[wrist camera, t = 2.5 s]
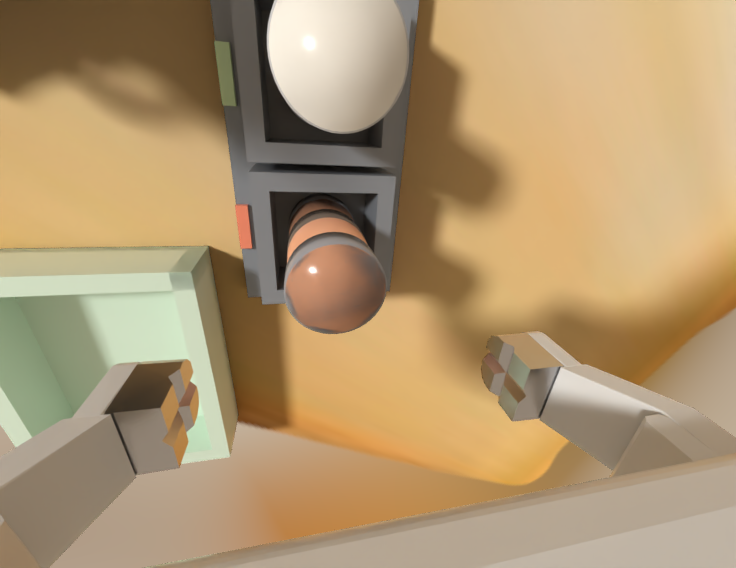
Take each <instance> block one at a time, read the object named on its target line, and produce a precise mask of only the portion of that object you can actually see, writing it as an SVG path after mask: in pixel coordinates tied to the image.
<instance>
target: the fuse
mask: <svg viewBox="0 0 736 568" xmlns="http://www.w3.org/2000/svg"><path fill="white" fill-rule="evenodd" d="M267 52H268V59H269V64H270V68H271V72H272V74H273V77H274V80H275V83H276V85H277V87H278V89H279V91H280V93H281V94H282V96H283V98H284V99H285V101H286V103H287V104H288V106H289V107H290V109H291V110H292V111H293V113H294V114H295V115H296V116H297V117H298V118H300V119H301V120H302V121H304V122H306V123H308V124H310V125H312V126H314V127H317V128H319V129H321V130H324V131H327V132H331V133H338V134H348V133H355V132H359V131H362V130H365V129H367V128H369V127H371V126H373V125H374V124H376V123H377V122H379V121H380V120H381V119H382V118H383V117H384V116H385V115H386V114H387V113H388V112H389V111H390V110H391V108H392V107H393V106H394V104H395V103H396V101H397V99H398V97H399V95H400V93H401V91H402V88H403V86H404V83H405V79H406V76H407V71H408V64H409V40H408V34H407V29H406V25H405V21H404V18H403V15H402V13H401V10H400V7H399V6H398V4H397V2H396V0H275V1H274V3H273V6H272V9H271V12H270V16H269V21H268V28H267Z"/></svg>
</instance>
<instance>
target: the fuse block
mask: <svg viewBox="0 0 736 568" xmlns="http://www.w3.org/2000/svg"><path fill="white" fill-rule="evenodd" d="M274 1H275V0H210V4H211V11H212V19H213V27H214V35H215V41H214V46H215V53H216V61H217V69H218V76H219V84H220V92H221V100H222V105H224V113H225V121H226V129H227V137H228V144H229V152H230V160H231V168H232V176H233V183H234V191H235V199H236V205H235V208H236V215H237V223H238V231H239V239H240V246H241V249H242V254H243V262H244V269H245V277H246V285H247V293H248V297H262V304H283V303H286V302H285V298H284V280H285V270H286V266H287V248H288V238H289V236H288V224H289V217H290V214H291V211H292V209H293V208H294V206H295V205H296V204H297V203H298V202H299V201H300V200H302V199H303V198H305V197H307V196H309V195H312V194H320V193H322V194H329V195H332V196H334V197H336V198H338V199H340V200H341V201H342V202H343V203H344V204H345V205H346V206H347V207H348V209H349V211H350V212H351V214H352V216H353V218H354V220H355V223H356V224H357V226H358V227H359V229H360V231H361V233H362V234H363V236H364V238H365V240H366V242H367V244H368V246H369V247H370V248H371V249H372V251H373V252H374V254H375V255H376V257H377V259H378V261H379V262H380V264H381V266H382V268H383V270H384V272H385V276H386V281H387V291H390V282H391V272H392V262H393V252H394V243H395V233H396V223H397V213H398V203H399V193H400V184H401V174H402V164H403V154H404V144H405V134H406V124H407V115H408V105H409V95H410V85H411V75H412V65H413V56H414V46H415V36H416V26H417V16H418V6H419V0H396V2H397V4H398V6H399V7H400V10H401V13H402V15H403V18H404V21H405V25H406V29H407V34H408V40H409V64H408V71H407V76H406V79H405V83H404V86H403V88H402V91H401V93H400V95H399V97H398V99H397V101H396V103H395V104H394V106H393V107H392V108H391V110H390V111H389V112H388V113H387V114H386V115H385V116H384V117H383V118H382V119H381V120H380V121H379V122H377V123H376V124H374V125H373V126H371V127H369V128H367V129H365V130H362V131H359V132H355V133H348V134H338V133H331V132H327V131H324V130H321V129H319V128H317V127H314V126H312V125H310V124H308V123H306V122H304V121H302V120H301V119H300V118H298V117H297V116H296V115H295V114H294V113H293V111H292V110H291V109H290V107H289V106H288V104H287V103H286V101H285V99H284V98H283V96H282V94H281V93H280V91H279V89H278V87H277V85H276V83H275V80H274V77H273V74H272V72H271V68H270V64H269V59H268V52H267V28H268V21H269V16H270V12H271V9H272V6H273V3H274Z"/></svg>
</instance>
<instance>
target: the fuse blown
mask: <svg viewBox="0 0 736 568" xmlns="http://www.w3.org/2000/svg"><path fill="white" fill-rule="evenodd" d="M288 236H289V238H288V248H287V266H286V270H285V280H284V298H285V302H286V305H287V308H288V310H289V312H290V313H291V314H292V316H293V317H294V318H295V319H296V320H297V321H298V322H299V323H300V324H302V325H303V326H305V327H306V328H308V329H311V330H313V331H316V332H320V333H326V334H339V333H345V332H349V331H352V330H355V329H357V328H359V327H361V326H362V325H364V324H366V323H367V322H368V321H370V320H371V319H372V318H373V317H374V316H375V315H376V313H377V312H378V311H379V309H380V308H381V306H382V304H383V302H384V299H385V296H386V291H387V281H386V276H385V272H384V270H383V268H382V266H381V264H380V262H379V261H378V259H377V257H376V255H375V254H374V252H373V251H372V249H371V248H370V247H369V246H368V244H367V242H366V240H365V238H364V236H363V234H362V233H361V231H360V229H359V227H358V226H357V224H356V223H355V220H354V218H353V216H352V214H351V212H350V211H349V209H348V207H347V206H346V205H345V204H344V203H343V202H342V201H341V200H340V199H338V198H336V197H334V196H332V195H329V194H322V193H320V194H312V195H309V196H307V197H305V198H303V199H302V200H300V201H299V202H298V203H297V204H296V205H295V206H294V208H293V209H292V211H291V214H290V217H289V224H288Z"/></svg>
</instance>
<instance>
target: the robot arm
mask: <svg viewBox="0 0 736 568" xmlns="http://www.w3.org/2000/svg"><path fill="white" fill-rule="evenodd" d="M486 348H487V350H488V351H489V354H488V355H487V356H486V357H485V358H484V359H483V362H482V366H481V372H482V378H483V381H484V383H485V385H486V387H487V388H488V389H489V391H491V392H492V393H494V394H496V395H497V396H499V400H498V403H499V404H500V406H501V407H502V408H503V410H504V411H505V413H506V414H507V415H508V417H509V418H510V419H511V421H521V420H530V419H539V418H540V421H542V422H543V423H545V424H546V425H548V426H549V427H550V428H552V429H553V430H555V431H556V432H558V433H559V434H561V435H562V436H563V437H565V438H566V439H568V440H569V441H571V442H572V443H574V444H575V445H576V446H578V447H579V448H581V449H582V450H584V451H585V452H587V453H588V454H589V455H591V456H592V457H594V458H595V459H597V460H598V461H600V462H601V463H602V464H604V465H605V466H607V467H608V468H610V469H611V470H613V472H612V473H611V475H610V477H609V478H604V479H598V480H593V481H588V482H583V483H578V484H573V485H568V486H562V487H557V488H552V489H547V490H542V491H537V492H532V493H526V494H521V495H516V496H511V497H506V498H501V499H496V500H491V501H485V502H481V503H475V504H470V505H465V506H460V507H455V508H449V509H444V510H439V511H434V512H429V513H423V514H419V515H413V516H408V517H403V518H398V519H393V520H387V521H382V522H378V523H372V524H367V525H362V526H356V527H352V528H346V529H341V530H336V531H331V532H325V533H320V534H315V535H310V536H305V537H300V538H294V539H289V540H284V541H279V542H274V543H269V544H263V545H258V546H253V547H248V548H243V549H238V550H232V551H228V552H222V553H217V554H212V555H207V556H201V557H196V558H191V559H186V560H181V561H176V562H170V563H165V564H160V565H155V566H150V567H145V568H736V438H735V437H734V436H732V435H731V434H730V433H728V432H727V431H725V430H724V429H722V428H721V427H720V426H718V425H717V424H715V423H714V422H713V421H711V420H710V419H708V418H707V417H706V416H704V415H703V414H701V413H700V412H699V411H697V410H696V409H694V408H692V407H690V406H688V405H685V404H683V403H680V402H678V401H675V400H673V399H670V398H668V397H666V396H663V395H661V394H658V393H656V392H653V391H651V390H648V389H646V388H644V387H641V386H639V385H636V384H634V383H631V382H629V381H626V380H624V379H621V378H619V377H617V376H614V375H612V374H609V373H607V372H604V371H602V370H599V369H597V368H595V367H592V366H590V365H587V364H584V365H582V364H580V363H579V362H578V361H577V360H576V359H574V358H573V357H572V356H571V355H570V354H568V353H567V352H566V351H565V350H564V349H562V348H561V347H560V346H559V345H557V344H556V343H555V342H554V341H553V340H551V339H550V338H549V337H548V336H547V335H545V334H544V333H542V332H539V331H532V332H523V333H518V334H505V335H493V336H491V337H490V338H489V340H488V343H487V346H486ZM192 375H193V368H192V365H191V361H189V360H188V359H178V360H161V361H143V362H130V363H118V364H116V365H114V366H112V367H111V368H110V370H109V371H108V372H107V373H106V375H105V376H104V377H103V378H102V380H101V381H100V382H99V384H98V385H97V386H96V387H95V389H94V390H93V391H92V393H91V394H90V395H89V396H88V398H87V399H86V400H85V402H84V403H83V404H82V405H81V407H80V408H79V409H78V410H77V412H76V413H75V414H74V416H73V417H72V418H69V419H62V420H61V421H59V422H57V423H56V424H54V425H52V426H51V427H49V428H47V429H46V430H44V431H42V432H41V433H39V434H37V435H36V436H34V437H32V438H31V439H29V440H27V441H26V442H24V443H22V444H21V445H19V446H17V447H16V448H14V449H12V450H11V451H9V452H8V453H6V454H4V455H2V456H1V457H0V568H49V567H50V566H51V565H52V564H53V563H54V562H55V561H56V560H57V559H58V558H59V557H60V556H61V555H62V553H64V552H65V551H66V550H67V549H68V548H69V547H70V546H71V544H72V543H73V542H74V541H75V540H76V539H77V538H78V537H79V536H80V535H81V534H82V533H83V532H84V531H85V530H86V529H87V528H88V527H89V526H90V525H91V524H92V523H93V522H94V520H96V519H97V518H98V517H99V515H100V514H101V513H102V512H103V511H104V510H105V509H106V508H107V507H108V506H109V505H110V504H111V503H112V502H113V501H114V500H115V499H116V498H117V497H118V496H119V495H120V494H121V493H122V491H124V489H126V487H127V486H128V485H129V484H130V483H131V482H132V481H133V480H134V479H135V478H136V475H140V474H146V473H152V472H158V471H164V470H170V469H176V468H180V465H181V462H182V459H183V456H184V453H185V451H186V448H187V445H188V442H189V441H188V437H187V433H186V432H187V431H189V430H190V429H191V428H192V427H193V426H194V424H195V421H196V418H197V415H198V407H199V394H198V389H197V386H196V385H195V384H193V383H192V382H191V381H190V380H191V377H192Z"/></svg>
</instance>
